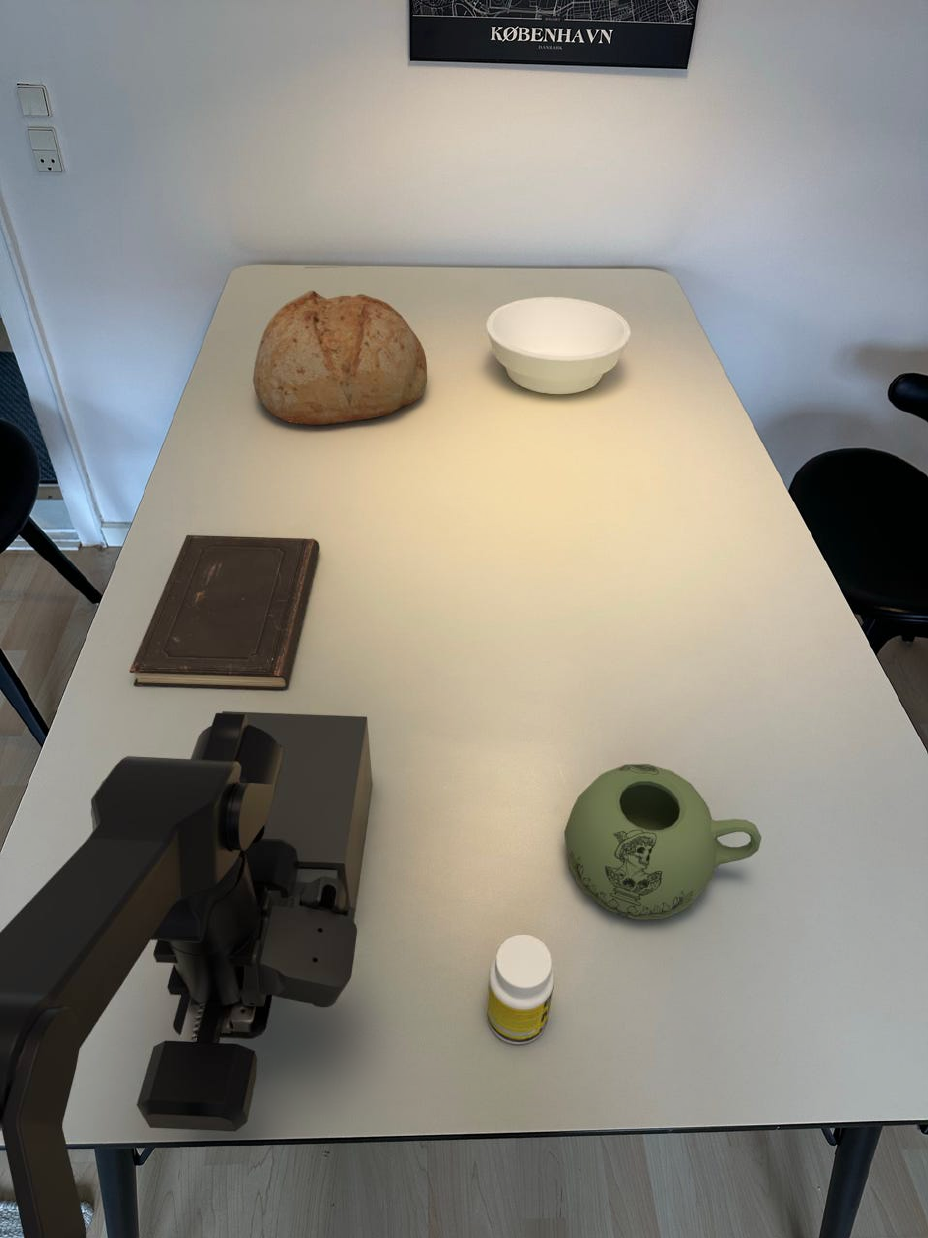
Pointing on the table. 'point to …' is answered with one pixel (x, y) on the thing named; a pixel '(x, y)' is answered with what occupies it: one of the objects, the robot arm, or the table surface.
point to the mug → (647, 842)
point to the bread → (338, 360)
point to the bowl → (557, 342)
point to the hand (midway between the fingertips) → (245, 1026)
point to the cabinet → (321, 790)
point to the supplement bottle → (520, 989)
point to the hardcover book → (229, 614)
